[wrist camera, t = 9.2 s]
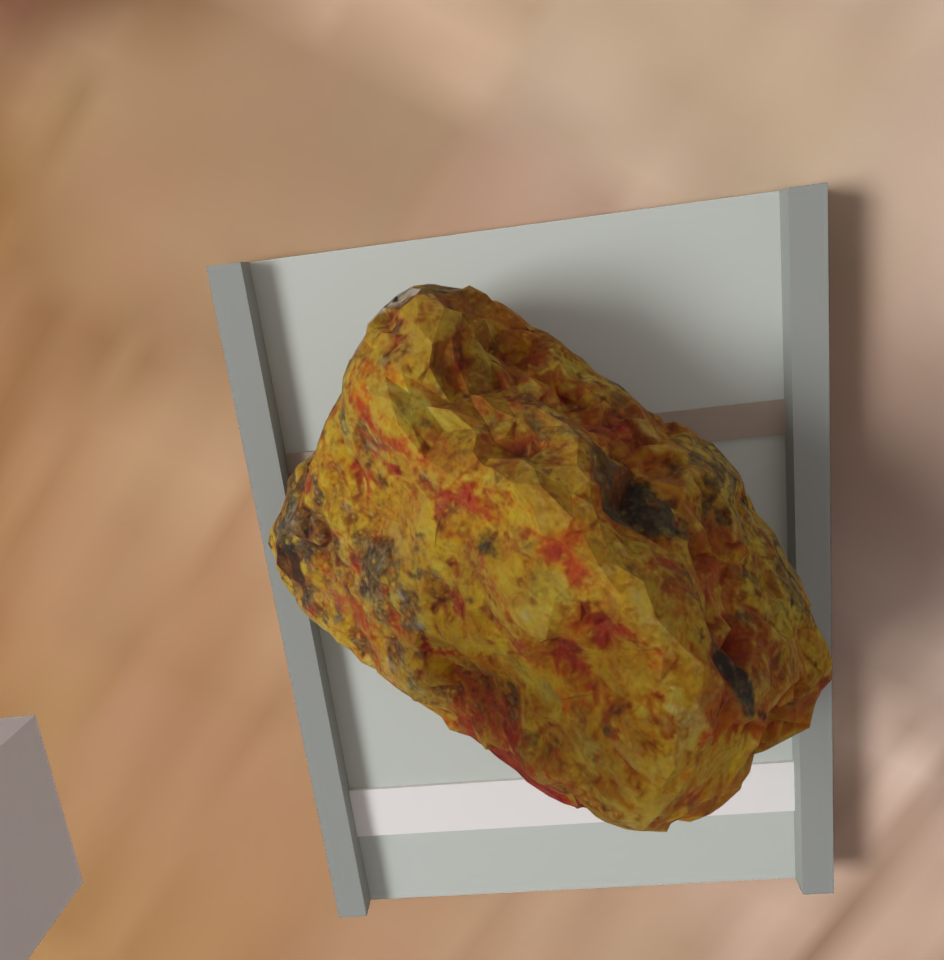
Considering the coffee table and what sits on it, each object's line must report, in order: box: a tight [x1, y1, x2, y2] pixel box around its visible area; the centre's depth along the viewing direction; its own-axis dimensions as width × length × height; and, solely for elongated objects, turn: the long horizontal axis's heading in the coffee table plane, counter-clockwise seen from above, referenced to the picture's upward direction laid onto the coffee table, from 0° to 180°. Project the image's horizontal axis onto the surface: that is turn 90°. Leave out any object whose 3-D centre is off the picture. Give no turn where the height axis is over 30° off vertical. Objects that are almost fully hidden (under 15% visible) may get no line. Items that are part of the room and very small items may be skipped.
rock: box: [268, 284, 832, 832], centre depth 16 cm, size 11×8×10 cm
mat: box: [206, 183, 834, 917], centre depth 20 cm, size 14×18×1 cm
